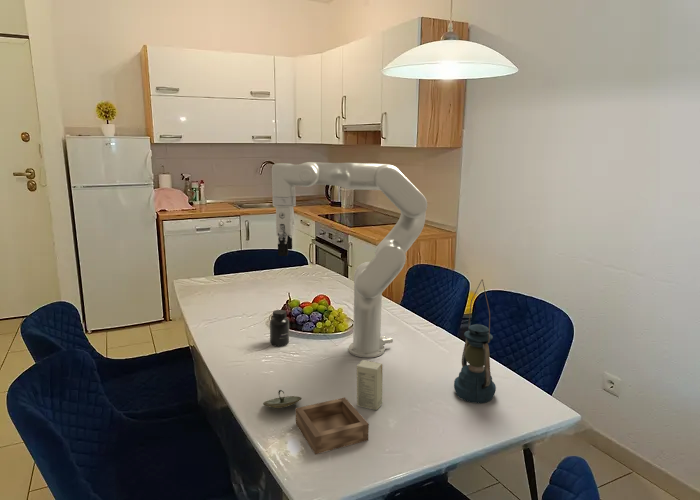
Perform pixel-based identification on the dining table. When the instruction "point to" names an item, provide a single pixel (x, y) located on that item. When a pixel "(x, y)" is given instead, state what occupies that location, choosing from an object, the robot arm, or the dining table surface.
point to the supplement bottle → (279, 329)
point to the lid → (282, 401)
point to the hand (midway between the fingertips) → (285, 252)
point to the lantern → (476, 365)
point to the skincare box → (369, 384)
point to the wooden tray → (331, 425)
